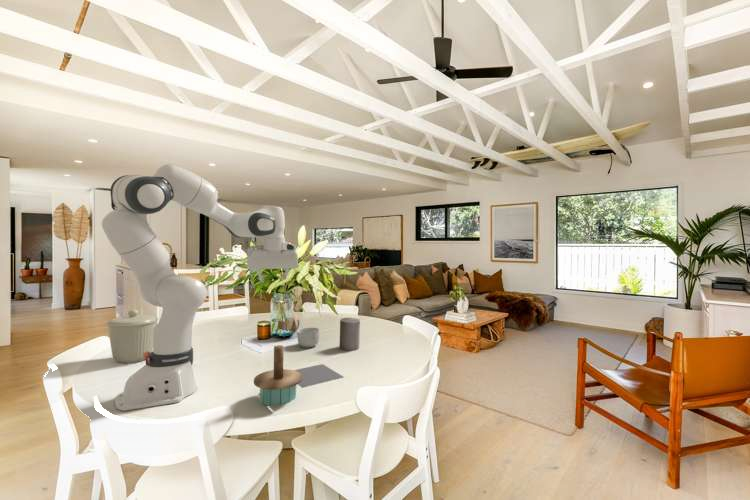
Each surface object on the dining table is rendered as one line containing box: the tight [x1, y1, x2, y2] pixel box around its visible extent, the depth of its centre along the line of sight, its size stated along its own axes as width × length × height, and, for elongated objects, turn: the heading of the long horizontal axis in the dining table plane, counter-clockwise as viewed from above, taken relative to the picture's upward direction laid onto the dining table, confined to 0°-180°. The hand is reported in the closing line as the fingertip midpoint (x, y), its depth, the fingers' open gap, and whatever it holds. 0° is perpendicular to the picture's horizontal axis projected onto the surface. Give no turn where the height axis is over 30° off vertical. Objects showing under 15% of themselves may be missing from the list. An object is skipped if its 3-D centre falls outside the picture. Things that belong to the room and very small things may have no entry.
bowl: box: [259, 385, 297, 407], centre depth 114 cm, size 11×11×6 cm
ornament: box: [279, 310, 300, 334], centre depth 188 cm, size 15×15×15 cm
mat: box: [293, 363, 344, 389], centre depth 133 cm, size 17×17×1 cm
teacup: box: [296, 326, 320, 348], centre depth 174 cm, size 14×11×8 cm
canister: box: [106, 309, 159, 364], centre depth 148 cm, size 18×18×21 cm
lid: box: [253, 344, 302, 390], centre depth 114 cm, size 15×15×11 cm
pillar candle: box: [339, 317, 361, 352], centre depth 170 cm, size 10×10×15 cm
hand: (273, 279), depth 143 cm, fingers open, 8 cm apart
